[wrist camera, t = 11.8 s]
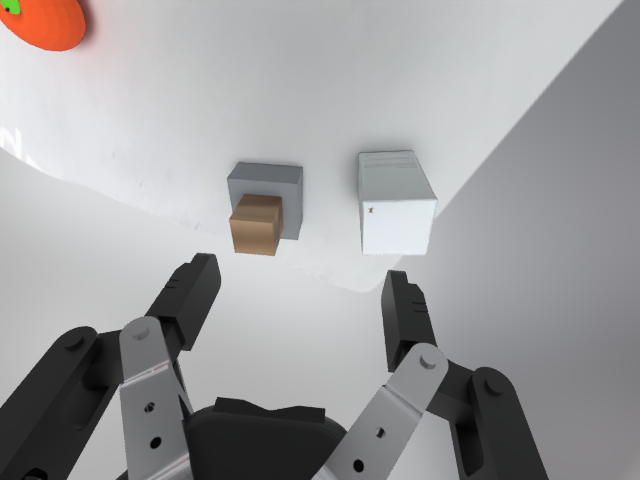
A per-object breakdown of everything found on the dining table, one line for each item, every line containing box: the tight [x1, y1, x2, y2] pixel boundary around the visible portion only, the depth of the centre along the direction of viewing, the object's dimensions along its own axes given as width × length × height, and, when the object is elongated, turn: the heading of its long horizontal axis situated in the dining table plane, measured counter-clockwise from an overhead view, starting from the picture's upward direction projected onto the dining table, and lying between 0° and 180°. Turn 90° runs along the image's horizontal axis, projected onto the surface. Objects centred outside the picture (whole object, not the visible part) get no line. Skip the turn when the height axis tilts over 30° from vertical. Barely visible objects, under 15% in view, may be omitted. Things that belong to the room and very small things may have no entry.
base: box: [227, 162, 303, 240], centre depth 41 cm, size 9×9×5 cm
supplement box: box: [358, 151, 438, 255], centre depth 35 cm, size 7×7×13 cm
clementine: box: [0, 0, 85, 51], centre depth 28 cm, size 8×7×7 cm
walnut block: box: [229, 194, 283, 256], centre depth 37 cm, size 5×5×6 cm
